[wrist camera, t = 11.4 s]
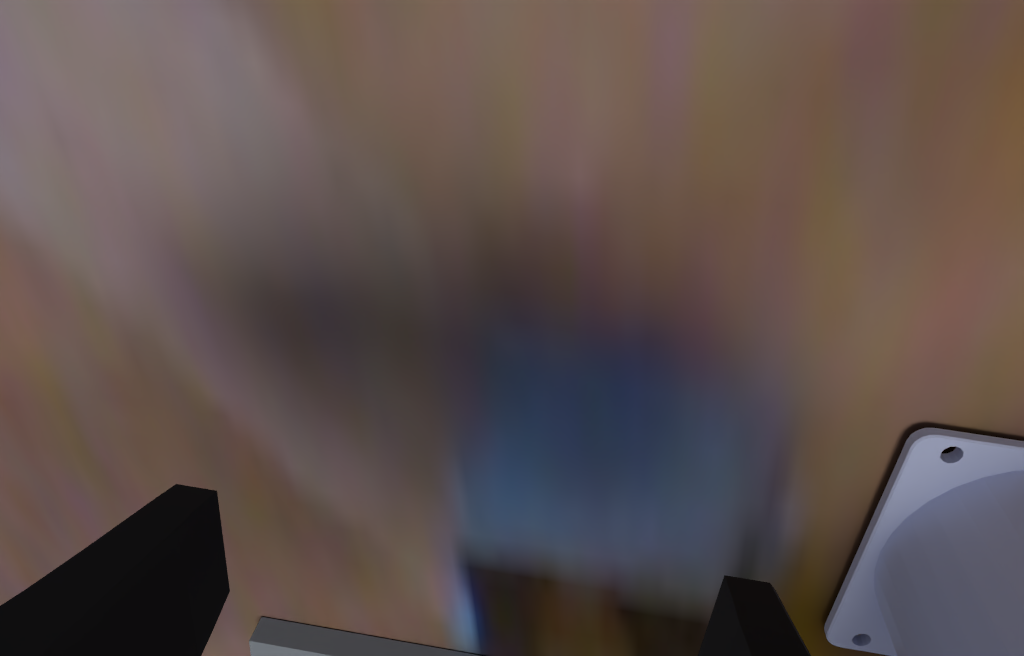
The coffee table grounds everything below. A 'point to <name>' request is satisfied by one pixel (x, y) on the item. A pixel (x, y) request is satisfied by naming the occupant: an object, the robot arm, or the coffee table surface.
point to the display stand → (329, 642)
